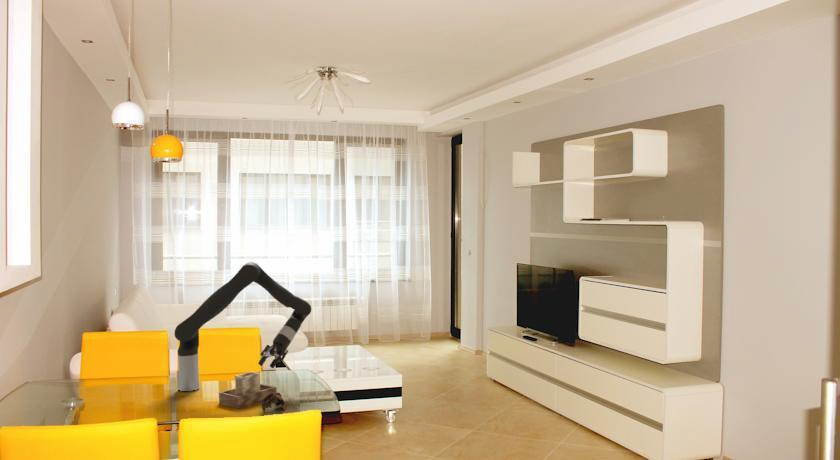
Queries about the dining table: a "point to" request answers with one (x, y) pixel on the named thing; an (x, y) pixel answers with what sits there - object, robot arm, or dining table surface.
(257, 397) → the walnut crate
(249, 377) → the birch crate
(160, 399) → the dining table surface
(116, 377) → the dining table surface
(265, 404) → the pottery mug
